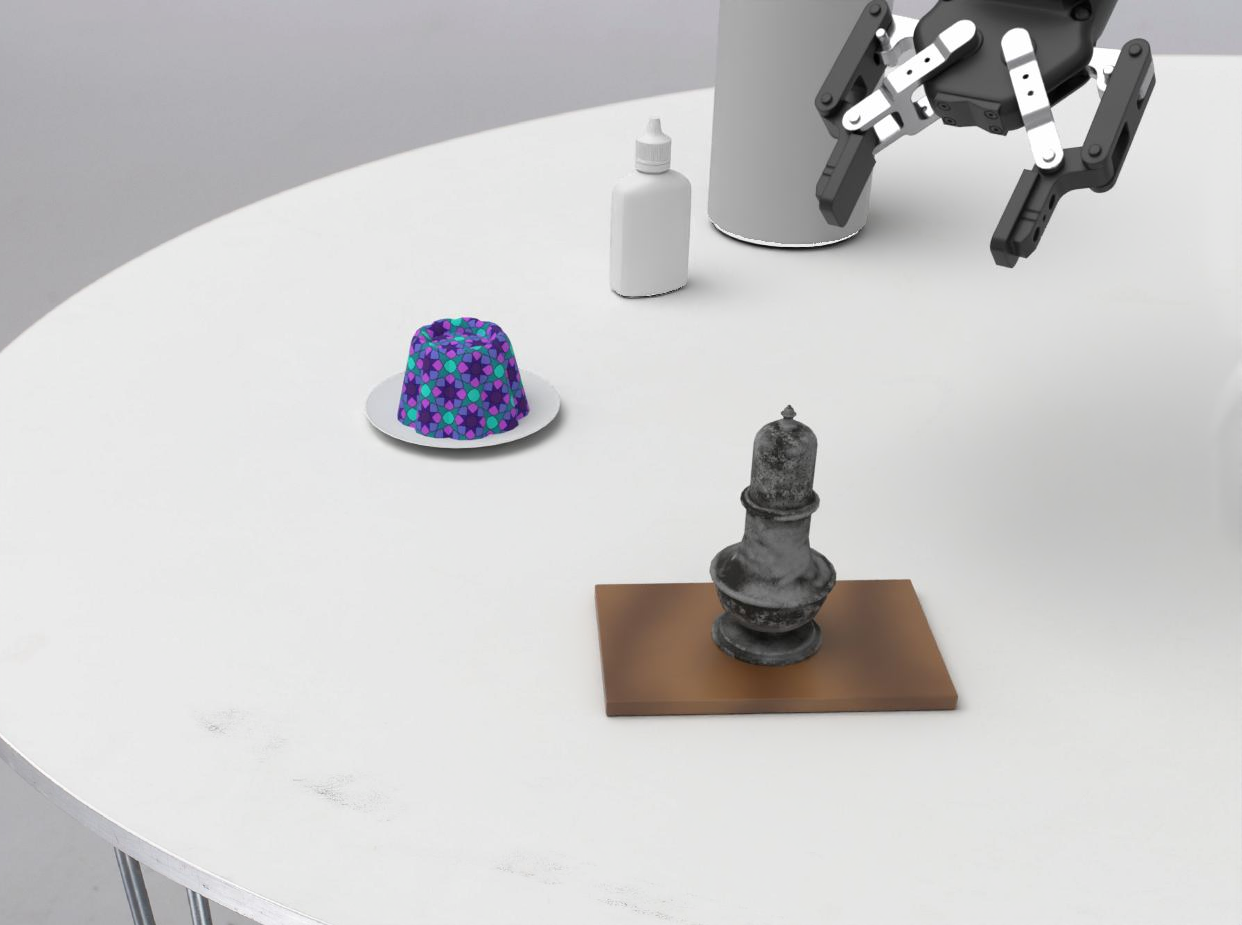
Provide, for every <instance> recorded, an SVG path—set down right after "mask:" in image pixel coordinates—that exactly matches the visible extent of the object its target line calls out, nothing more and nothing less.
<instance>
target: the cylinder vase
mask: <svg viewBox="0 0 1242 925" xmlns="http://www.w3.org/2000/svg"><path fill="white" fill-rule="evenodd" d="M871 1H872V0H719V9H718V10H719V11H718V24H717V25H718V26H717V42H716V59H715V60H716V62H715V74H714V75H715V77H714V95H713V108H712V109H713V111H712V128H711V129H712V130H711V144H710V160H709V161H710V163H709V176H708V177H709V178H708V193H707V194H708V195H707V216H708V215H709V216H708V218H709V217H710V219H711V220H712V221H713V222H714V223H715V224H717V225H718V226H719V227H720V228H721V229H723V230H725V231H727V232H730V233H733V234H735V235H740V236H742V237H744V238H748V239H754V240H761V241H765V242H775V243H781V244H813V243H814V244H816V243H820V242H821V243H822V242H829V241H835V240H840V239H842V238H845V237H848V236H849V235H852V234H853V233H856V232H857V231H859V230H860V229H861V230H862V229H863V228H864V227H865V225H866V223H867V220H868V214H869V206H870V200H871V199H870V198H871V190H872V182H873V175H874V174H873V172H874V169H873V170H872V172H871V174H870V176H869V178H868V180H867V182H866V184H865V187H864V189H863V191H862V193H861V195H860V197H859V199H858V201H857V203H856V205H855V208H854V210H853V212H852V214H851V216H850V218H849V220H848V222H847V224H846V225H845V226H844V227H843V228H841V227H837V226H833V225H829V224H827V222H826V220H825V218H824V217H823V215H822V213H821V211H820V209H819V201H818V199H817V197H816V196H815V195H816V185H817V183H818V181H819V178H820V176H821V175H822V172H823V170H824V168H825V167H826V164H827V162H828V160H829V158H830V155H831V153H832V151H833V149H834V147H835V145H836V143H837V141H838V139H834V138H832V137H831V136H830V134H829V132H828V130H827V128H826V126H825V124H824V122H823V120H822V118H821V116H820V114H819V112H818V110H817V109H816V107H815V98H816V96H817V94H818V92H819V90H820V89H821V87H822V85H823V83H824V81H825V79H826V78H827V76H828V74H829V72H830V70H831V68H832V67H833V65H834V63H835V61H836V59H837V57H838V56H839V54H840V52H841V50H842V48H843V46H844V45H845V43H846V41H847V39H848V37H849V35H850V34H851V32H852V30H853V28H854V26H855V24H856V23H857V21H858V19H859V17H860V15H861V13H862V12H863V10H864V8H865V6H866V5H867V4H868V3H869V2H871ZM885 1H886V2H887V4H888V6H889V8H890V11H891V13H892V14H893V8H894V0H885ZM885 75H886V70H885V71H884V73H883V75H882V76H881V78H880V80H879V82H878V84H877V86H876V88H875V89H874V91H873V93H874V92H875V91H877V90H878V89H879V88H880V87H881V85H882V81H883V79H884V78H885V77H886V76H885ZM874 158H875V159H876V155H874ZM710 219H709V220H710ZM864 224H865V225H864ZM863 226H864V227H863ZM862 227H863V228H862Z"/></svg>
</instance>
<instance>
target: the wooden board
mask: <svg viewBox="0 0 1242 925" xmlns="http://www.w3.org/2000/svg"><path fill="white" fill-rule="evenodd" d="M594 604H595V613H596V614H595V615H596V626H597V634H598V647H599V658H600V665H601V667H600V668H601V678H602V688H603V699H604V709H605V715H606V716H607V717H609V716H611V717H612V716H614V717H615V716H617V717H618V716H663V715H664V716H666V715H667V716H669V715H670V716H671V715H714V714H715V715H716V714H717V715H718V714H719V715H720V714H761V713H762V714H766V713H767V714H771V713H773V714H775V713H776V714H777V713H824V712H825V713H827V712H830V713H831V712H833V713H834V712H878V711H884V712H885V711H932V710H934V711H935V710H936V711H937V710H956V709H957V704H958V698H959V695H958V692H957V690H956V687H955V685H954V683H953V679H952V677H951V675H950V673H949V670H948V668H947V666H946V663H945V661H944V658H943V656H942V653H941V651H940V648H939V646H938V643H937V641H936V639H935V636H934V634H933V631H932V629H931V626H930V623H929V622H928V619H927V616H926V614H925V612H924V610H923V607H922V604H921V602H920V599H919V597H918V594H917V592H916V589H915V586H914V585H913V583H912V580H911V578H899V579H897V578H895V579H839V580H837V579H836V584H835V586H834V587H833V589H832V590H831V592H830V593H829V594H827V599H826V600H825V602H824V603H823V605H822V607H821V608H820V610H819V611H818V613H817V614H816V616H815V617H814V618H813V619H814V621H815V622H816V623H817V624H818V625H819V627H820V629H821V632H822V644H821V646H820V648H819V649H818V651H817V652H816V653H815V654H814V655H812V656H811V657H810V658H808V659H806V660H803V661H801V662H799V663H795V664H790V665H786V666H762V665H754V664H750V663H746V662H743V661H740V660H737V659H735V658H733V657H731V656H729V655H727V654H726V653H725V652H723V651H722V650H721V649H719V647H718V646H717V645H716V643H715V642H714V641H713V637H712V633H711V630H712V625H713V622H714V621H715V619H716V618H717V616H718V615H720V614H721V613H723V612H724V611H725V610H724V609H723V607H722V605H721V603H720V600H719V597H718V595H717V591H716V588H715V583H714V582H713V581H712V582H661V583H660V582H659V583H657V582H654V583H600V584H599V583H597V584H594Z"/></svg>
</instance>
